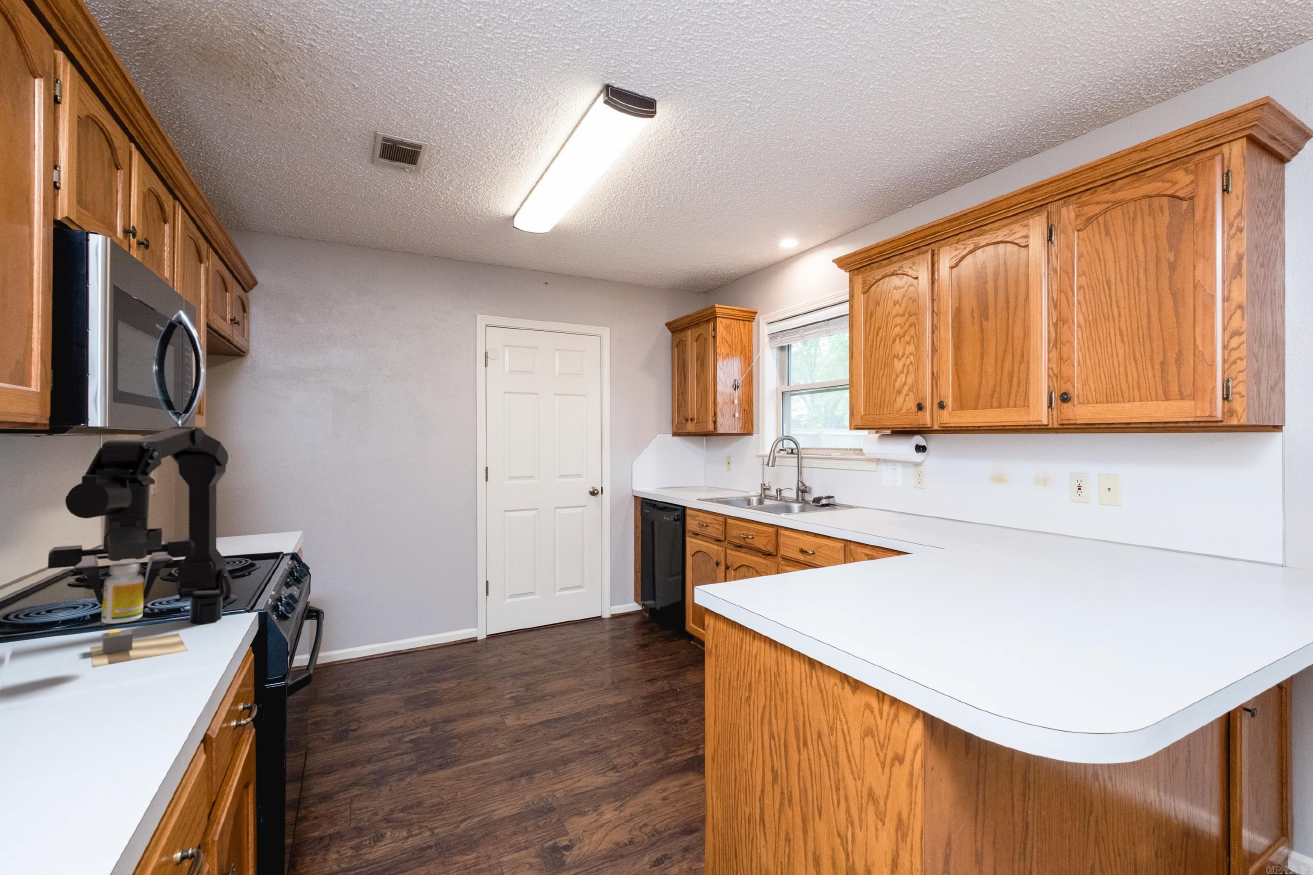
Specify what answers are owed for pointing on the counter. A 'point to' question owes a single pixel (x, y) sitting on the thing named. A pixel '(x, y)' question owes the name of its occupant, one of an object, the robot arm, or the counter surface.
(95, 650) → the plywood panel
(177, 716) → the counter surface
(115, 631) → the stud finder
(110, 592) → the supplement bottle
